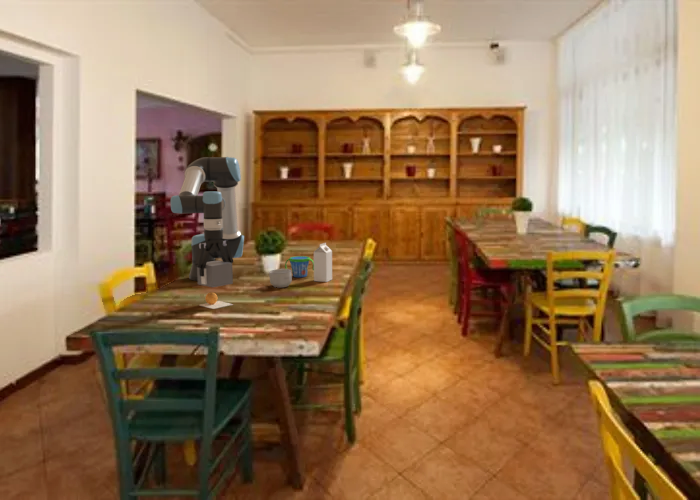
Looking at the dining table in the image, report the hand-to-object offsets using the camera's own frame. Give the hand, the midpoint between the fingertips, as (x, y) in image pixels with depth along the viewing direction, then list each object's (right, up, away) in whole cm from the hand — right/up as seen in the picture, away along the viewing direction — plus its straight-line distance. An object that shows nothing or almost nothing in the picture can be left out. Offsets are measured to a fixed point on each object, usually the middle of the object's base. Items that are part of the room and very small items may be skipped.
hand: (215, 282), depth 242 cm
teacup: (+23, -4, +41) cm, 47 cm away
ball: (-2, -7, +3) cm, 8 cm away
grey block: (0, -1, 0) cm, 1 cm away
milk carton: (+42, -2, +54) cm, 69 cm away
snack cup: (+30, -1, +65) cm, 72 cm away
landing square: (0, -10, +2) cm, 10 cm away
